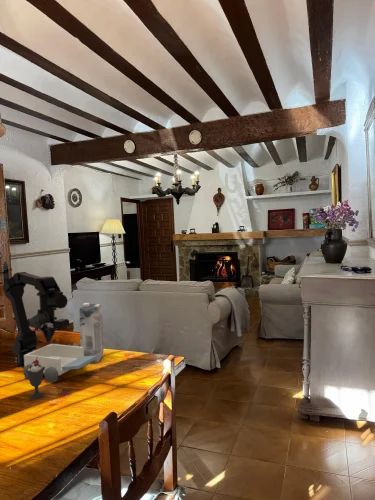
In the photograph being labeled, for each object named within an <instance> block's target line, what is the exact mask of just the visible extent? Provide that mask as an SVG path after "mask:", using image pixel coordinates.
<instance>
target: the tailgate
mask: <svg viewBox="0 0 375 500" xmlns="http://www.w3.org/2000/svg"><path fill="white" fill-rule="evenodd" d="M95 359H97V355H95V356H83V357H80V358H78V359H76V360H74V361H72V362H70V363H68V364H67V365H65V366H63V367H62V370H68V371H70V370H79V369H83V368H84V367H86V366H88V365H90V364H92V363H91V361H93V360H95Z"/></svg>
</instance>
